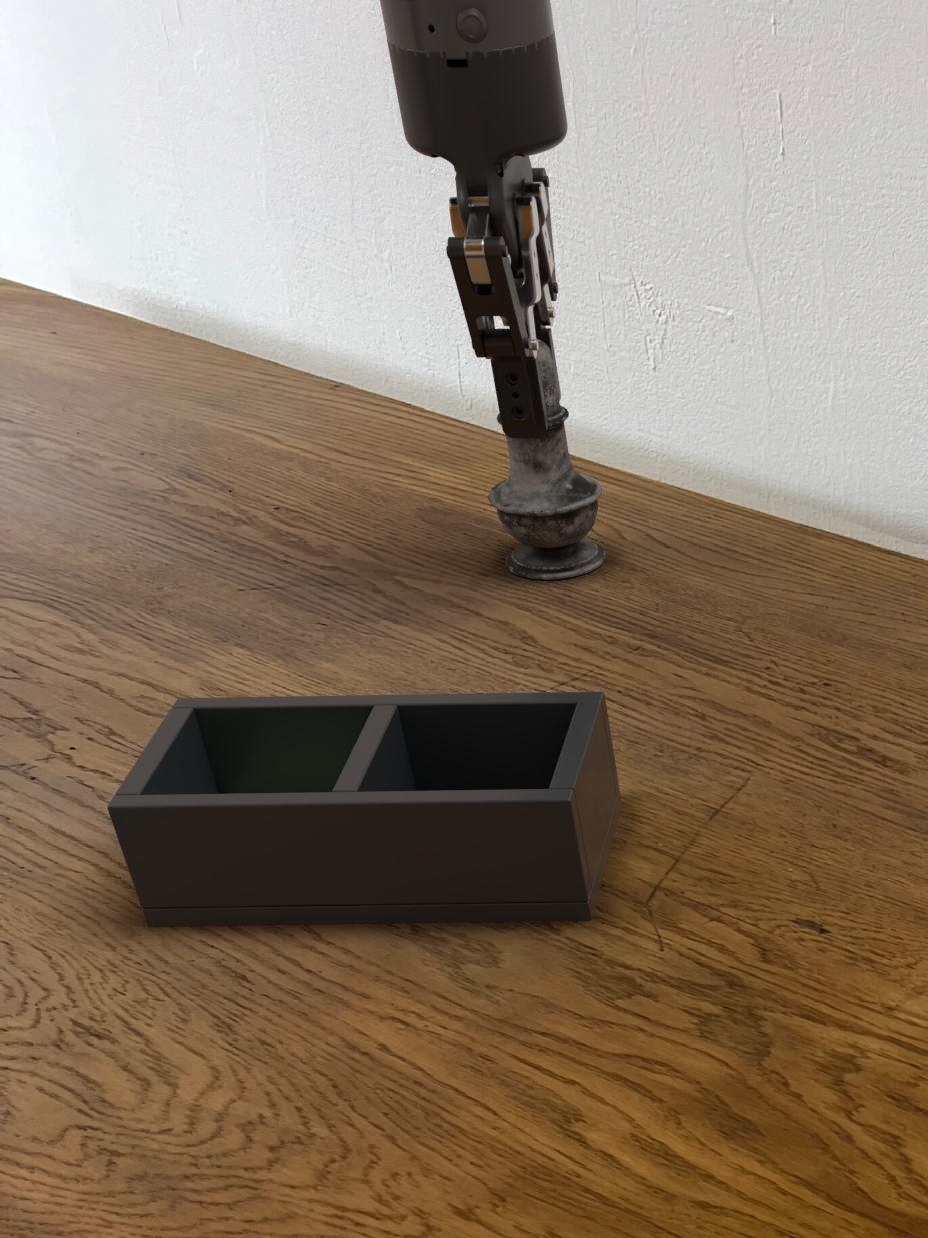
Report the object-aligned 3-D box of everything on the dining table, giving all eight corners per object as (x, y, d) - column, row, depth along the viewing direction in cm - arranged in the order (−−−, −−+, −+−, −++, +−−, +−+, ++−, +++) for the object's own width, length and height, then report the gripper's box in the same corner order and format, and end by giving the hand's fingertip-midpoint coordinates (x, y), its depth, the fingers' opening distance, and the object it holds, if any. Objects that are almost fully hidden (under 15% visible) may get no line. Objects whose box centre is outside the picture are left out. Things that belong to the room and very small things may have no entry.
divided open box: (592, 924, 84) (570, 799, 80) (148, 930, 84) (105, 806, 80) (623, 810, 91) (604, 690, 87) (213, 816, 91) (177, 697, 87)
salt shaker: (486, 550, 111) (442, 310, 103) (590, 530, 113) (555, 293, 105) (519, 589, 107) (475, 343, 99) (626, 568, 109) (593, 325, 101)
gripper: (418, -4, 99) (485, 376, 111) (351, 61, 88) (432, 472, 100) (575, -6, 99) (625, 374, 111) (526, 59, 88) (586, 471, 100)
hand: (533, 419), depth 105 cm, fingers closed on salt shaker, 3 cm apart
